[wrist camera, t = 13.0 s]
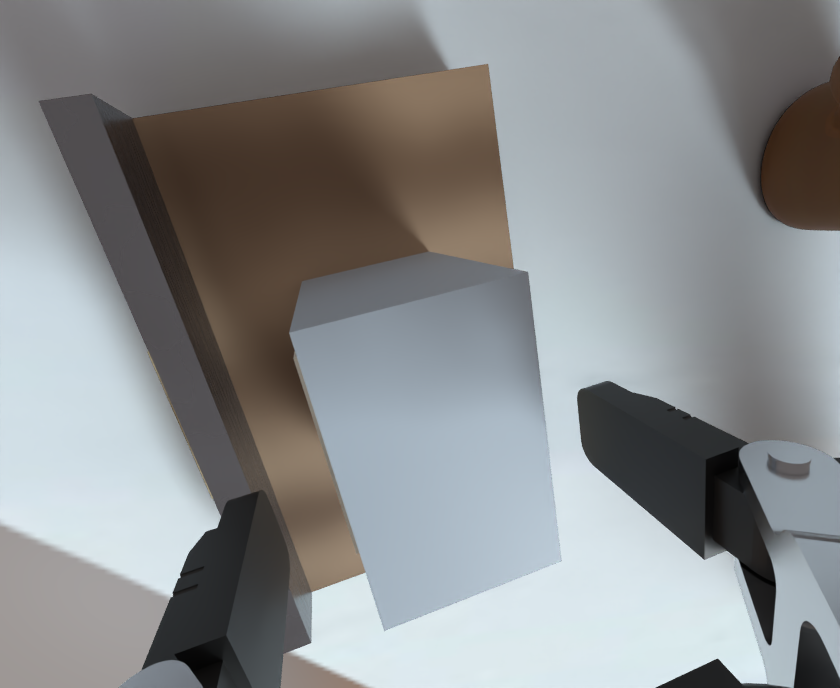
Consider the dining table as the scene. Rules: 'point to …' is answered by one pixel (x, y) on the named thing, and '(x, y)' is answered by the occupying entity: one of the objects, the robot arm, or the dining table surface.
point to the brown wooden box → (278, 260)
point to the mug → (806, 160)
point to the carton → (430, 425)
